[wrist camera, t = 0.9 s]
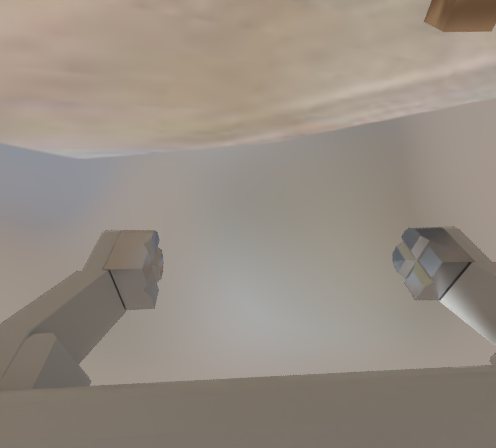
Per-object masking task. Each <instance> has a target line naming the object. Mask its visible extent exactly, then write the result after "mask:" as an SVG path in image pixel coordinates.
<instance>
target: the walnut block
mask: <svg viewBox="0 0 496 448" xmlns="http://www.w3.org/2000/svg"><path fill="white" fill-rule="evenodd" d="M424 22H426V23H428V24H430V25H432V26H433V27H435V28H437V29H439V30H441V31H443V32H480V31H492V29H493V27H494V26H495V24H496V0H432V1H431V4H430V7H429V10H428V12H427V15H426V18H425V20H424Z"/></svg>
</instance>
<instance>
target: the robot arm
mask: <svg viewBox="0 0 496 448" xmlns="http://www.w3.org/2000/svg"><path fill="white" fill-rule="evenodd" d="M402 240H403V242H402V243H400V244H399V245H397V246H396V248H395V250H394V252H393V264H394V267H395V269H396V271H397V272H398V273H399V274H400V275H402V276H403V277H405V285H406V287H407V288H408V290H409V292H410V293H411V294H412V296H413V298H414V299H415V300H440V302H441V303H442V304H444V305H445V306H446V307H447V308H449V309H450V310H451V311H452V312H454V313H455V314H456V315H458V316H459V317H460V318H461V319H462V320H464V321H465V322H466V323H467V324H469V325H470V326H471V327H472V328H474V329H475V330H476V331H477V332H479V333H480V334H481V335H482V336H484V337H485V338H486V339H487V340H489V341H490V342H491V343H492V344H494V345H495V346H496V262H492V261H491V260H490V259H489V258H488V257H487V256H486V255H485V254H484V253H482V251H481V250H480V249H479V248H478V247H477V246H476V245H475V244H474V243H473V242H472V241H471V240H470V239H469V238H468V237H467V236H466V235H465V234H464V233H463V232H461V230H460V229H458V228H455V227H426V228H424V227H423V228H408V229H407V230H405V231H404V233H403V235H402ZM158 243H159V237H158V233H157V232H156V231H155V230H154V231H153V230H122V231H121V230H120V231H119V230H105V231H104V232H103V233H102V234H101V235H100V237H99V239H98V241H97V243H96V245H95V247H94V249H93V251H92V253H91V255H90V256H89V258H88V260H87V262H86V264H85V266H84V268H83V270H82V271H76V272H74V273H73V274H72V275H70V276H69V277H67V278H66V279H65V280H63V281H61V282H60V283H59V284H57V285H56V286H54V287H53V288H51V289H50V290H48V291H47V292H45V293H44V294H43V295H41V296H40V297H38V298H37V299H36V300H34V301H33V302H31V303H30V304H28V305H27V306H25V307H24V308H22V309H21V310H19V311H18V312H16V313H15V314H14V315H12V316H11V317H9V318H8V319H6V320H5V321H3V322H2V323H1V324H0V448H496V353H495V354H494V355H492V356H491V357H490V362H491V364H492V365H484V366H483V365H482V366H464V367H443V368H424V369H405V370H385V371H366V372H347V373H328V374H308V375H292V376H291V375H290V376H270V377H251V378H233V379H213V380H195V381H175V382H156V383H137V384H119V385H100V386H90V384H91V380H90V379H89V377H88V376H87V374H86V373H85V372H84V371H83V369H82V368H81V367H80V366H79V363H80V362H81V361H82V360H83V359H84V358H85V356H87V355H88V353H89V352H90V351H91V350H92V349H93V348H94V347H95V345H97V343H98V342H99V341H100V340H101V339H102V338H103V337H104V336H105V334H106V333H107V332H108V331H109V330H110V329H111V328H112V327H113V325H114V324H115V323H116V322H117V321H118V320H119V319H120V318H121V317H122V316H123V314H124V313H125V312H126V311H125V310H138V309H154V308H155V304H156V300H157V295H158V291H159V289H158V286H157V282H158V281H159V280H160V279H161V277H162V273H163V255H162V250H161V249H160V248H158Z"/></svg>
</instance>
